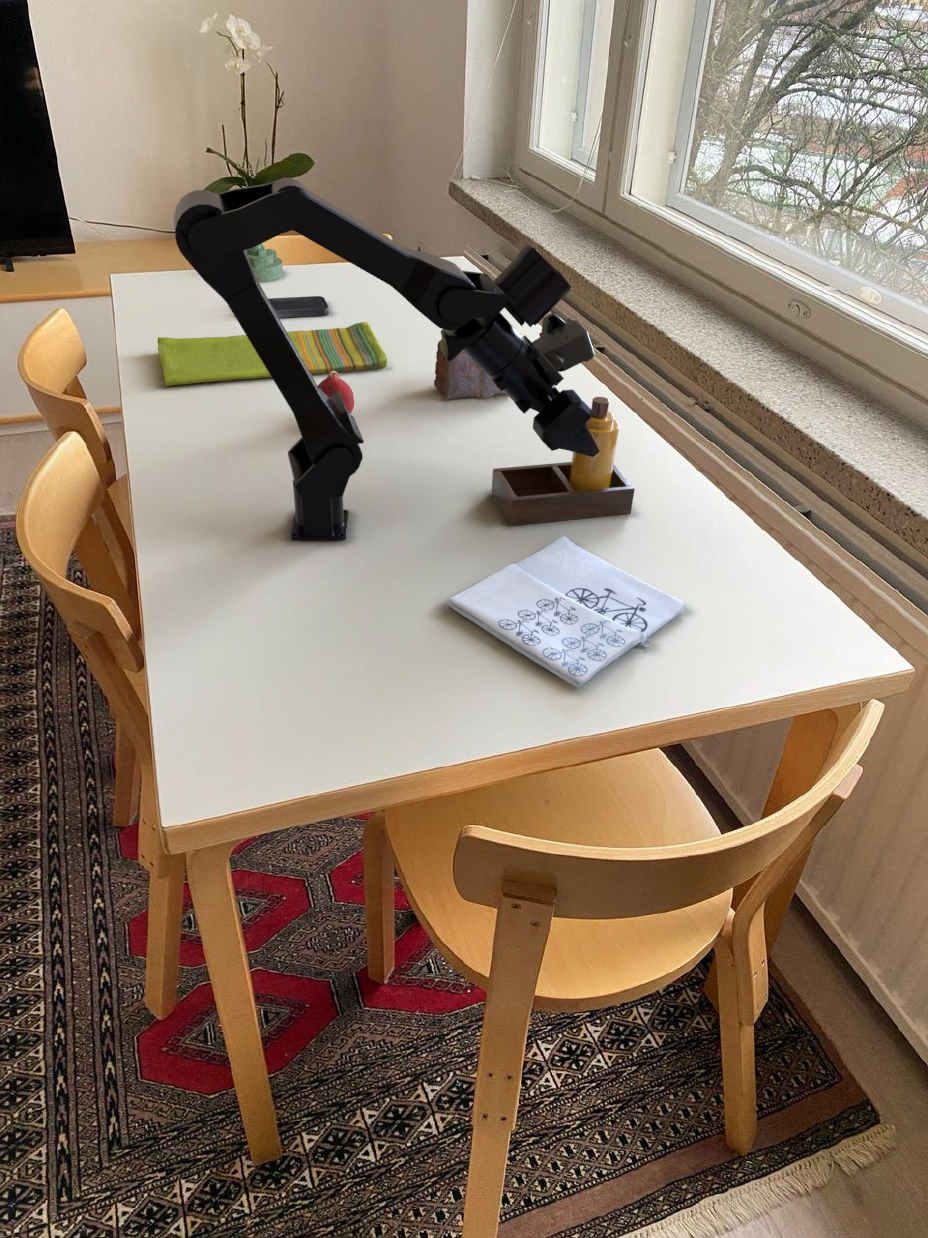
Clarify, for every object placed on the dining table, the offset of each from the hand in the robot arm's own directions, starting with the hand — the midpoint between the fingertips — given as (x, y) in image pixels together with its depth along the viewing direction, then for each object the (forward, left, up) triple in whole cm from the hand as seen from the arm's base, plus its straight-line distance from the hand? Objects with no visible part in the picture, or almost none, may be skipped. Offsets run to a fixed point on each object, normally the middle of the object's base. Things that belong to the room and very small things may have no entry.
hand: (582, 436), depth 114 cm
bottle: (0, -2, -8) cm, 8 cm away
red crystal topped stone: (+35, +10, -9) cm, 38 cm away
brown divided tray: (0, +2, -9) cm, 9 cm away
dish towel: (+46, +43, -9) cm, 64 cm away
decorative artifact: (+93, +52, -9) cm, 107 cm away
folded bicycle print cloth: (-24, +4, -9) cm, 26 cm away
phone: (+71, +44, -9) cm, 84 cm away
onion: (+22, +32, -9) cm, 40 cm away
